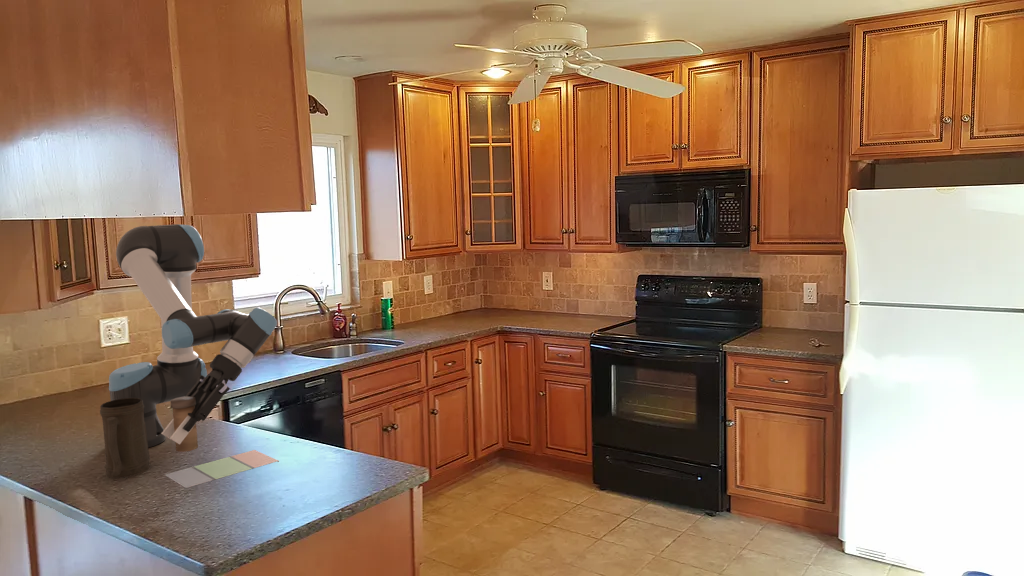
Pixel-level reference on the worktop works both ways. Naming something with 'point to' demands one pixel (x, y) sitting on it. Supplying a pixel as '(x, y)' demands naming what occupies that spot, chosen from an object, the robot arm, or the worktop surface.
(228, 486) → the worktop surface
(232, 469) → the gauge board
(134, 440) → the beer stein
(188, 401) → the wooden dark-capped post
